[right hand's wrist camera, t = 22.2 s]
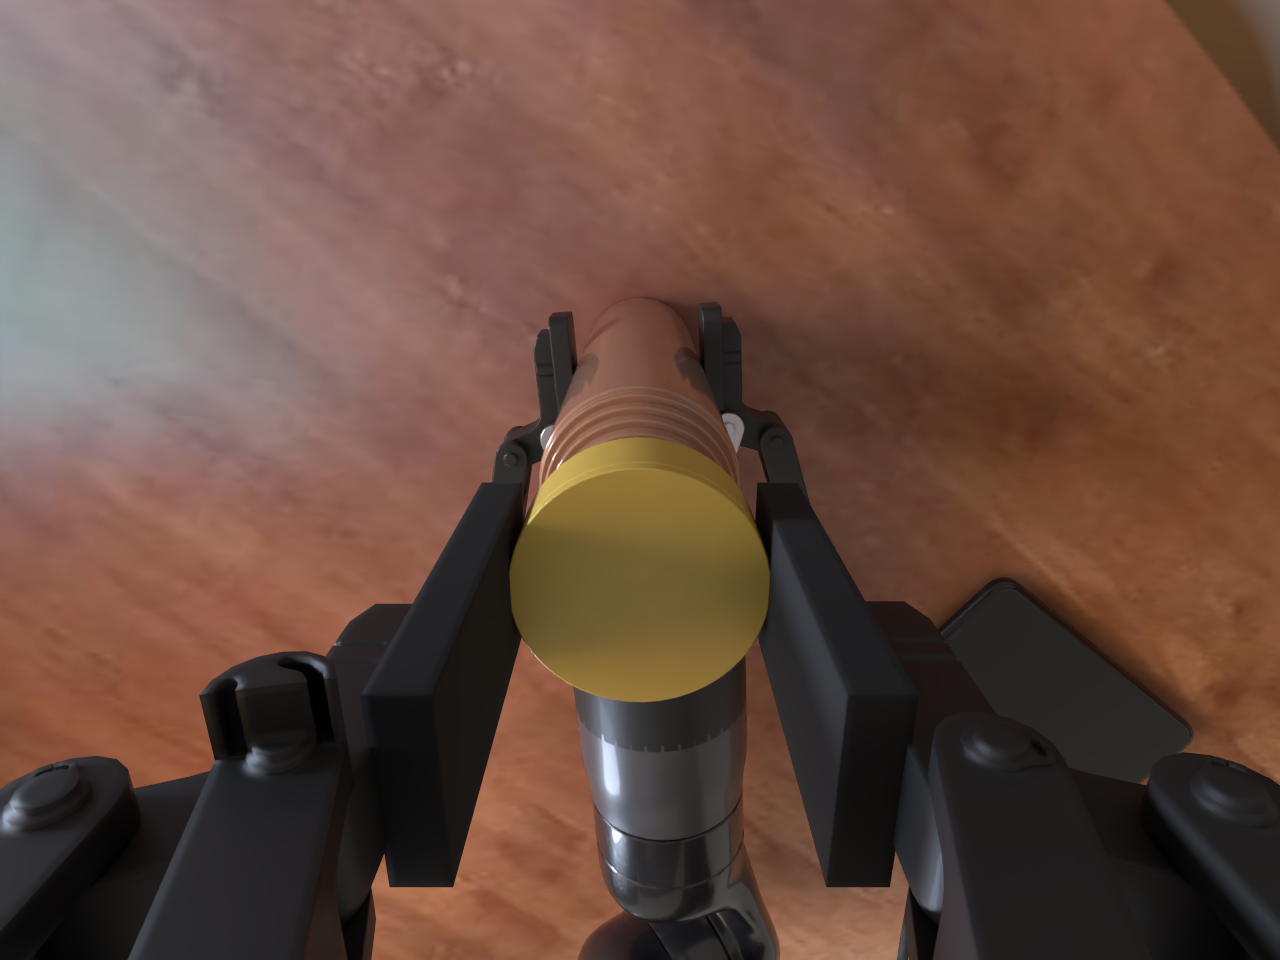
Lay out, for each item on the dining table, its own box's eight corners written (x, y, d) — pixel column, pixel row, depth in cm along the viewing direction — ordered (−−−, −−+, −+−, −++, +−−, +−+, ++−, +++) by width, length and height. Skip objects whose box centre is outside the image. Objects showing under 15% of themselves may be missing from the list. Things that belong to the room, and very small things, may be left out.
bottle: (622, 419, 36) (597, 721, 15) (567, 332, 34) (454, 529, 13) (710, 368, 35) (817, 611, 14) (658, 277, 33) (689, 393, 12)
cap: (565, 672, 15) (557, 728, 14) (488, 474, 14) (468, 510, 12) (779, 616, 15) (797, 667, 13) (723, 406, 13) (734, 434, 12)
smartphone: (1193, 725, 42) (999, 565, 38) (1205, 736, 41) (1007, 573, 37) (1082, 812, 44) (889, 669, 40) (1091, 825, 43) (894, 678, 39)
